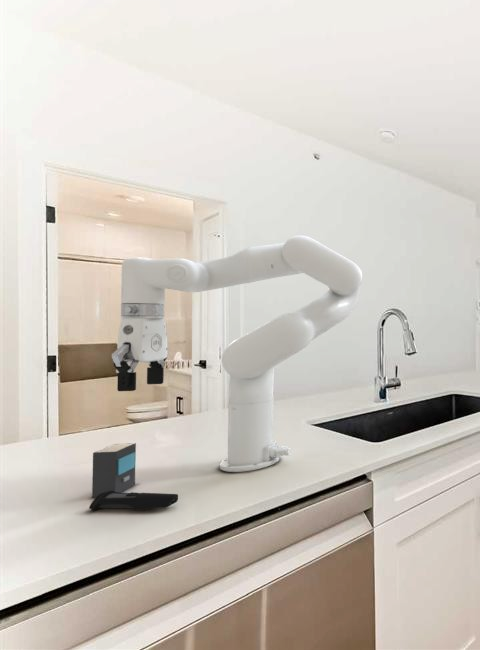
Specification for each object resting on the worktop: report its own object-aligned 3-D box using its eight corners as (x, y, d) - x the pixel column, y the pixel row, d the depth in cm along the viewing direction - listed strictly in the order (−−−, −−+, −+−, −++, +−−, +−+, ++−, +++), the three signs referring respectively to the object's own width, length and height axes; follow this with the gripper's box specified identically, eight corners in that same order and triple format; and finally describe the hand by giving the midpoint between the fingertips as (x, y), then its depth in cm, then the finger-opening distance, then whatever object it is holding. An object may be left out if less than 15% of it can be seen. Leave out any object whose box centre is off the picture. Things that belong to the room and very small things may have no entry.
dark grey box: (136, 484, 92) (137, 442, 92) (116, 496, 86) (117, 451, 86) (113, 486, 91) (114, 444, 91) (91, 497, 85) (92, 452, 86)
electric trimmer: (166, 515, 78) (167, 497, 78) (86, 512, 79) (87, 494, 79) (183, 506, 82) (184, 489, 82) (106, 503, 83) (107, 486, 83)
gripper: (135, 311, 90) (134, 393, 89) (183, 312, 107) (182, 381, 106) (94, 311, 88) (92, 394, 88) (149, 312, 105) (147, 382, 105)
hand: (141, 387), depth 97 cm, fingers open, 9 cm apart
